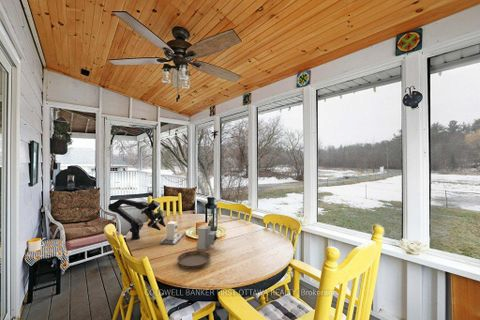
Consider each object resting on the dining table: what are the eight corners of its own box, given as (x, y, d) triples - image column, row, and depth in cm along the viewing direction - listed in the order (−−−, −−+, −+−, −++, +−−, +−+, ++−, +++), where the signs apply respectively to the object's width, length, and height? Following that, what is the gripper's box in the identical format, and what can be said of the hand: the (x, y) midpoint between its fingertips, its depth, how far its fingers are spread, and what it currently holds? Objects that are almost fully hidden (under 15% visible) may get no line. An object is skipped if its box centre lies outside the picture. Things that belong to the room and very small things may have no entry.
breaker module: (166, 239, 172) (167, 223, 172) (170, 237, 178) (170, 221, 179) (175, 240, 171) (175, 223, 172) (178, 237, 178) (178, 221, 178)
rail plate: (159, 244, 165) (159, 241, 165) (170, 235, 185) (170, 232, 185) (174, 244, 164) (174, 241, 164) (183, 236, 184) (183, 233, 184)
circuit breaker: (215, 250, 154) (215, 229, 155) (196, 248, 157) (197, 228, 158) (218, 246, 162) (218, 226, 162) (200, 245, 165) (200, 225, 165)
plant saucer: (212, 268, 129) (212, 262, 129) (177, 272, 123) (177, 266, 123) (208, 254, 149) (208, 249, 149) (177, 257, 143) (177, 252, 143)
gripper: (151, 210, 167) (164, 224, 166) (162, 205, 186) (174, 218, 184) (141, 219, 168) (154, 234, 166) (153, 214, 186) (165, 227, 185)
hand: (162, 228), depth 175 cm, fingers open, 9 cm apart
